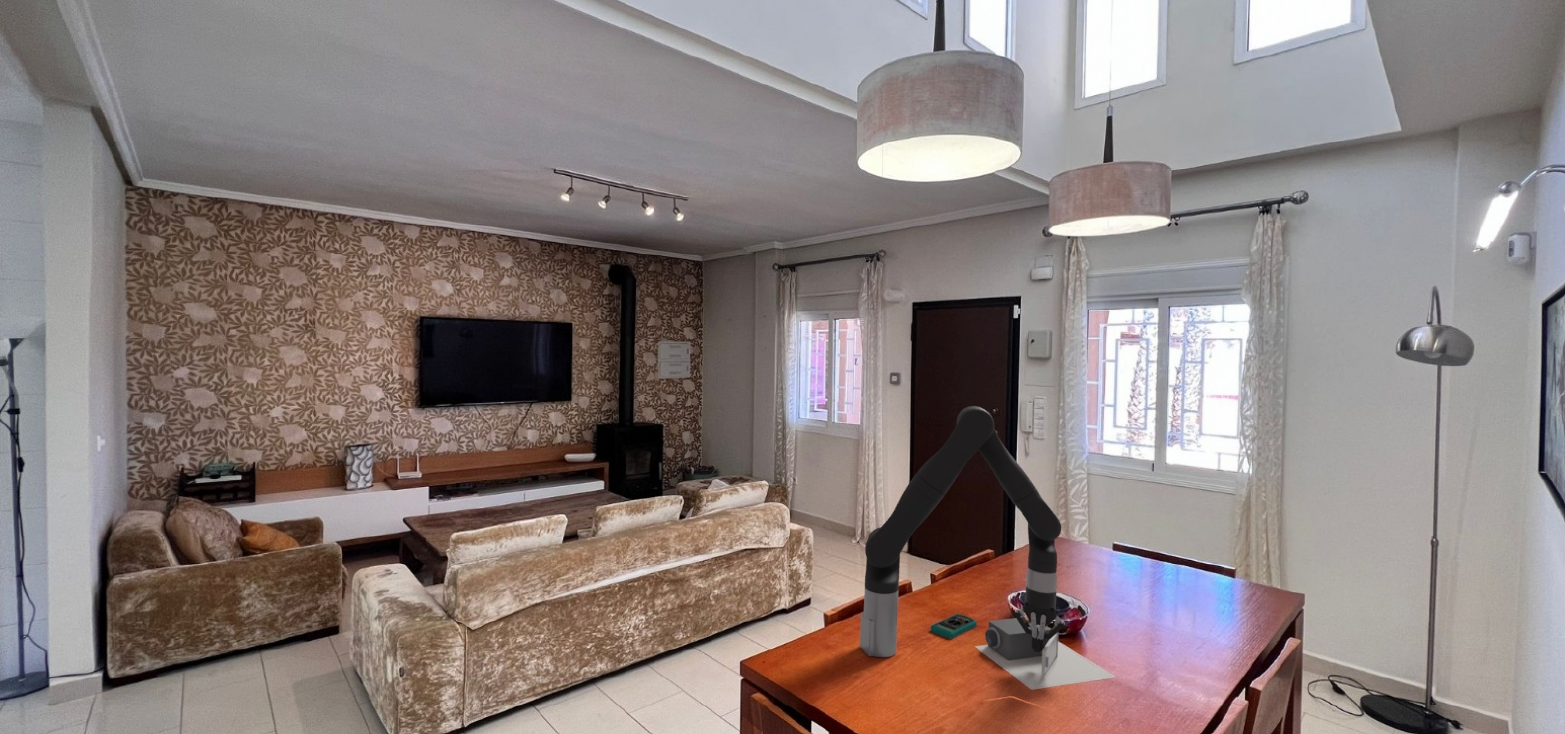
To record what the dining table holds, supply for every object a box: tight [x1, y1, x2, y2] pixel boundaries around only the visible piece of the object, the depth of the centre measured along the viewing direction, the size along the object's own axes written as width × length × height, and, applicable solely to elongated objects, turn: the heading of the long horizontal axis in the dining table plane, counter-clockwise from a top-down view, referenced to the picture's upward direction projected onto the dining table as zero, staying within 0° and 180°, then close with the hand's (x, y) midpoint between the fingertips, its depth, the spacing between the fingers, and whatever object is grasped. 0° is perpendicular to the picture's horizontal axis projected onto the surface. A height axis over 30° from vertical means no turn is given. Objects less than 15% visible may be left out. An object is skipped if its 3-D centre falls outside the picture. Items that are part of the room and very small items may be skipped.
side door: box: [1042, 632, 1059, 674], centre depth 169 cm, size 14×2×6 cm, turn 145°
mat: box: [974, 640, 1116, 691], centre depth 172 cm, size 26×24×1 cm
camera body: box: [984, 616, 1052, 660], centre depth 177 cm, size 16×9×8 cm, turn 107°
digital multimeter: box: [930, 613, 978, 640], centre depth 191 cm, size 7×15×3 cm, turn 133°
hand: (1037, 651), depth 168 cm, fingers closed
